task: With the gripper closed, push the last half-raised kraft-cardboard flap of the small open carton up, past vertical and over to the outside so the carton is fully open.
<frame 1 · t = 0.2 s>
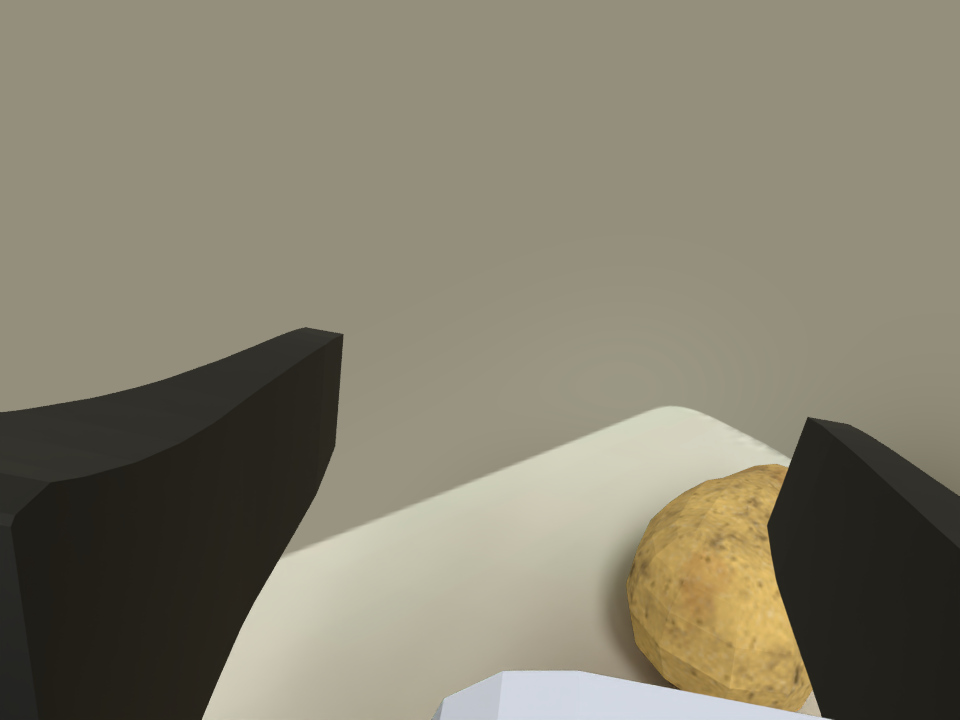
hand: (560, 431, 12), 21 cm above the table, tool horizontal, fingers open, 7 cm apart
potato: (719, 659, 38), on the table
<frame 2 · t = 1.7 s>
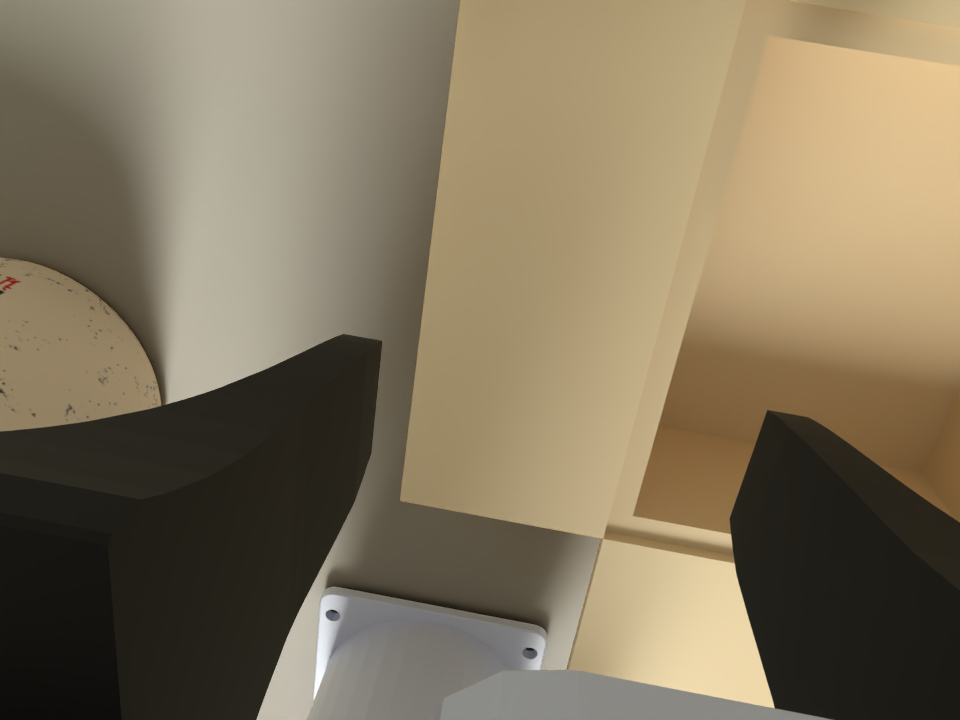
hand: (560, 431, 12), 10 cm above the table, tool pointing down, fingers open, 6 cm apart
teacup with lid: (13, 397, 26), on the table
carton: (827, 268, 21), on the table
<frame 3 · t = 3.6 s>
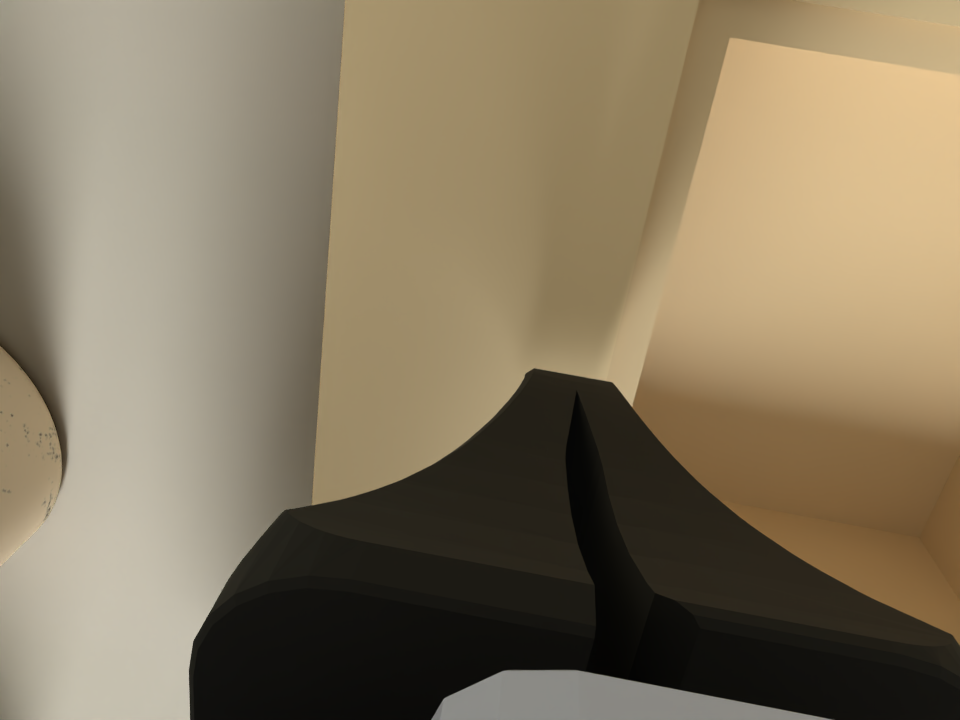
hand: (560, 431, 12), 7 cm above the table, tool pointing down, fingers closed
carton: (812, 307, 18), on the table
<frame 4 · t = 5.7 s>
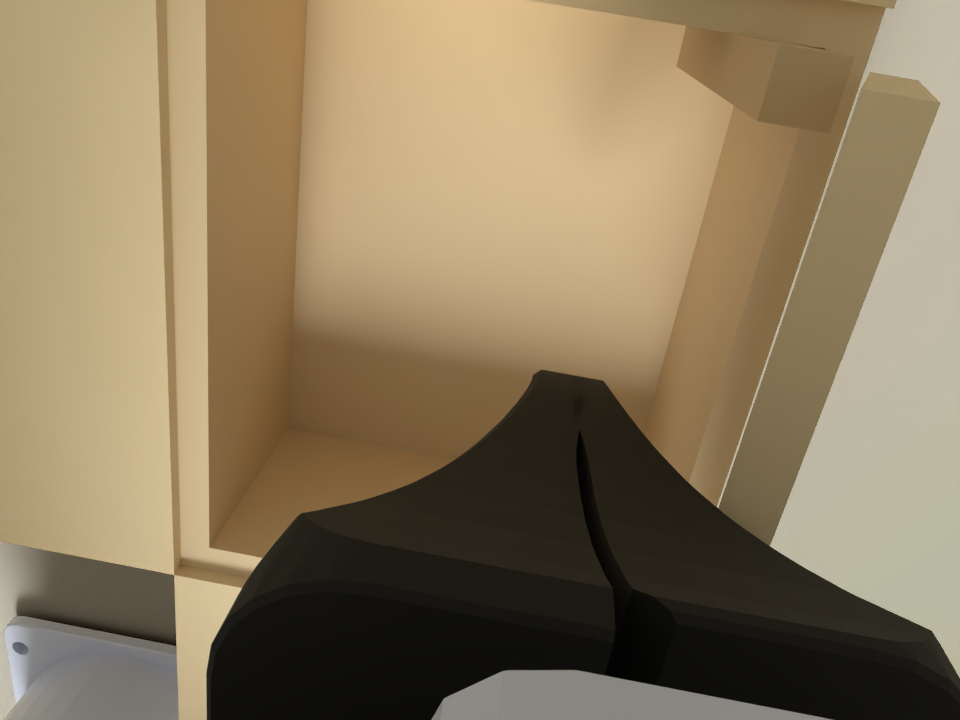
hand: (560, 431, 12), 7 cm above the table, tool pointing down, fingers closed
carton: (489, 254, 18), on the table
flap: (754, 480, 11), point 8 cm above the table, hinge at 70.4°, touching gripper
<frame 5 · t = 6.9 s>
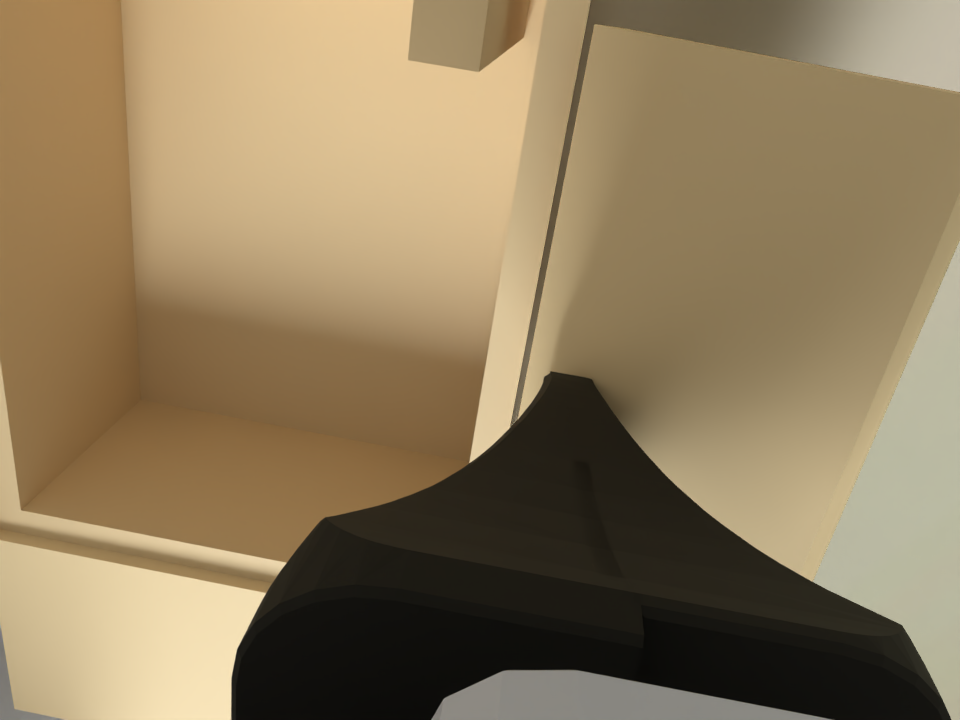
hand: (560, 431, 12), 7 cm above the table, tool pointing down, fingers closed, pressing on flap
carton: (324, 222, 18), on the table
flap: (661, 441, 11), point 7 cm above the table, hinge at 137.4°, touching gripper
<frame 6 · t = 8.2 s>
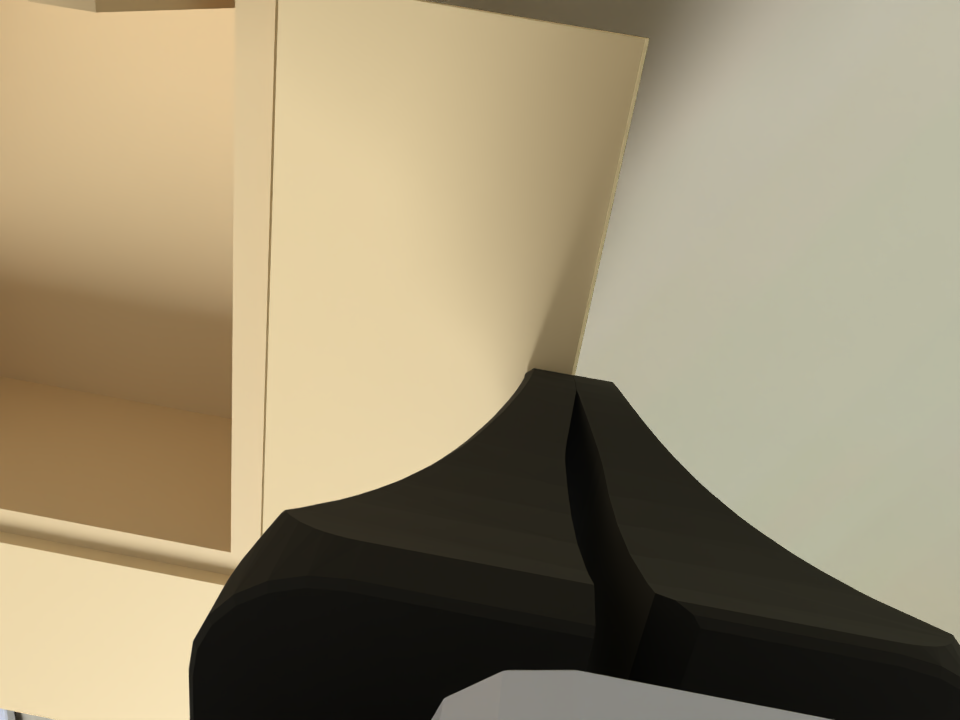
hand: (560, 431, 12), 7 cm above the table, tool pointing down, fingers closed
carton: (137, 193, 18), on the table
flap: (417, 357, 13), point 6 cm above the table, hinge at 170.2°, touching gripper
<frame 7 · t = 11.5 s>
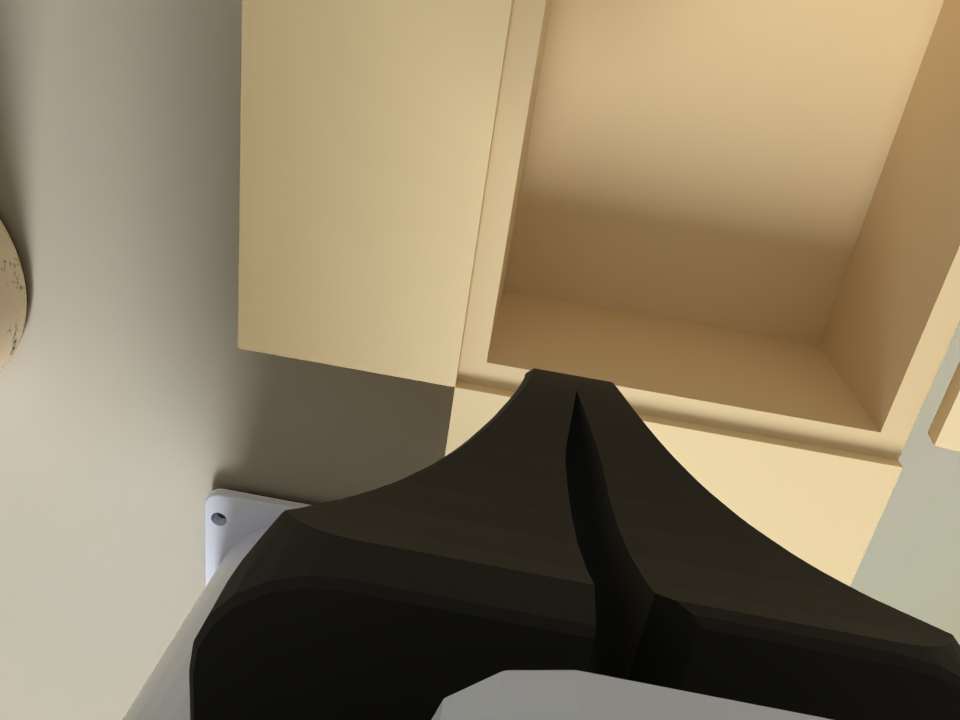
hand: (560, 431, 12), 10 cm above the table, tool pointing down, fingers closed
carton: (709, 116, 20), on the table
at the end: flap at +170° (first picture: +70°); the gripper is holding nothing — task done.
